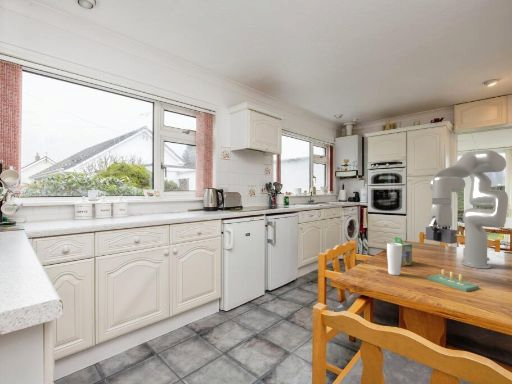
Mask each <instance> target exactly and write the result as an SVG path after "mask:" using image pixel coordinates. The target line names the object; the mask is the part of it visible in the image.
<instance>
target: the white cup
mask: <svg viewBox="0 0 512 384" xmlns="http://www.w3.org/2000/svg"><path fill="white" fill-rule="evenodd" d="M386 259H388V262H387V272H388V274H389V275H391V276H397V277H398V276H400V275H401V269H402V268H401V267H402V266H401V261H402V244H399V243H388V242H387V243H386Z"/></svg>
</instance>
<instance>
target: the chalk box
mask: <svg viewBox="0 0 512 384" xmlns="http://www.w3.org/2000/svg"><path fill="white" fill-rule="evenodd" d="M398 240H399V241H398ZM387 243H399V244H402V261H401V267H404V266H413V244H411V243H407V242H403V240H402V238H400V237H397V236H395V237H394V241H391V242H389V241H388V242H387ZM386 259H387V258H386ZM386 262H387V263H388V259H387V261H386Z"/></svg>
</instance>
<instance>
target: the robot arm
mask: <svg viewBox="0 0 512 384" xmlns="http://www.w3.org/2000/svg"><path fill="white" fill-rule="evenodd" d="M506 167H507V161H506V158H505V157H504V156H503V155H502V154H500V153H498V152H496V151H494V150H490V149H487V150H475V151H469V152H465V153H463V154H462V156H461V157H460V158H459V159H458V161H456V162H455V164H453V165H449V166H448V167H445V168H442V169H441V170H439V171H437V172H436V173H435V174H434V175H433V176H432V177H431V179H430V181H429V188H430V190H431V192H432V193H431V194H432V198H431V202H432V203H431V205H430V208H429V209H430V211H429V217H428V218H429V220H428V222H429V223H428V224H429V227H431V228H432V230H433V240H436V241H435V242H438V241H441V233H440V229H441V228H444V229H451V227H452V226H453V211H452V210H453V209H452V193H459V192H461V191H463V190H464V189H465V188H466V181H465V178H467V177H469V178H470V182H471V185H470V191H469V201H468V202H469V205H471V206H473V208H467V209H465V210H464V211H463V214H462V218H463V222H464V260H461V262H460V263H461V265H464V266H466V267H469V268H470V267H471V268H475V269H483V270H485V269H491V267H492V265H491V264H490V263H488V262H489V261H490V260H491V259H490V257H488V233H487V231H486V230H485V228H486V227H487V228H496V229H500V228H502V227H504V226H505V224H506V221H507V214H508V206H509V195H508V193H507V192H506V191H505V190H504V189H503V190H502V189H492V180H491V179H490V177H488V176H487V175H486V174H485V173H499V172H503V171H504V170H505V169H506ZM474 207H481V208H474ZM492 208H493V209H492ZM484 227H485V228H484ZM437 228H438V229H437ZM433 240H432V241H433Z"/></svg>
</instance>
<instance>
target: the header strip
mask: <svg viewBox="0 0 512 384" xmlns="http://www.w3.org/2000/svg"><path fill="white" fill-rule="evenodd" d="M463 275H464V274H461V273H459V274H458V279H457V278H454V271H449V276H446V270H445V269H443V268H442V269H441V274H440V273H438V274H434V275H429V276H426V280H429V281H431V282H435V283H438V284H441V285H444V286H447V287H450V288H454V289H457V290H459V291H463V292H470V291H474V290H478V289H479V288H480V286H479V285H477V284H474V283H471V282H467V281H464V280H463Z"/></svg>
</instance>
